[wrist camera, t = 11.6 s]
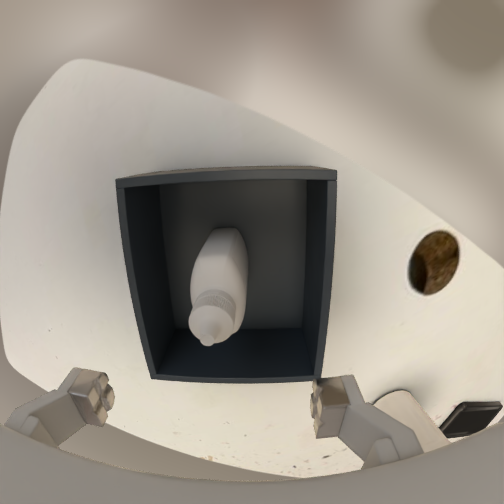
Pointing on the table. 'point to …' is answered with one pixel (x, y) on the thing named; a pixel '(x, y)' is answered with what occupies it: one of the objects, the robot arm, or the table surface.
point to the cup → (413, 419)
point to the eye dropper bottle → (219, 287)
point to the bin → (259, 268)
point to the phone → (470, 418)
